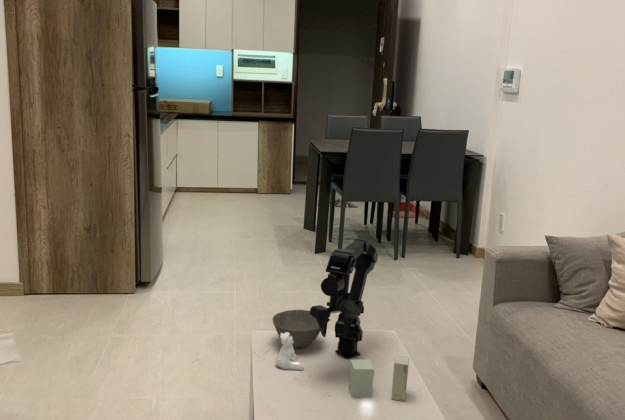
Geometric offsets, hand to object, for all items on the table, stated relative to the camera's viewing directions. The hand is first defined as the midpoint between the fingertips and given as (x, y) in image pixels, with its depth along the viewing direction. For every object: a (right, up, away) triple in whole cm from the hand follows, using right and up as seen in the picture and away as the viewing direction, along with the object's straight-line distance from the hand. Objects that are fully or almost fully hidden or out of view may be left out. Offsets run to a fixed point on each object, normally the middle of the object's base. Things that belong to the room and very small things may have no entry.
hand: (334, 334), depth 203 cm
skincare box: (+19, -17, -10) cm, 28 cm away
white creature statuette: (-16, -12, +5) cm, 20 cm away
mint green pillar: (+8, -16, -9) cm, 20 cm away
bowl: (-13, -8, +21) cm, 26 cm away
